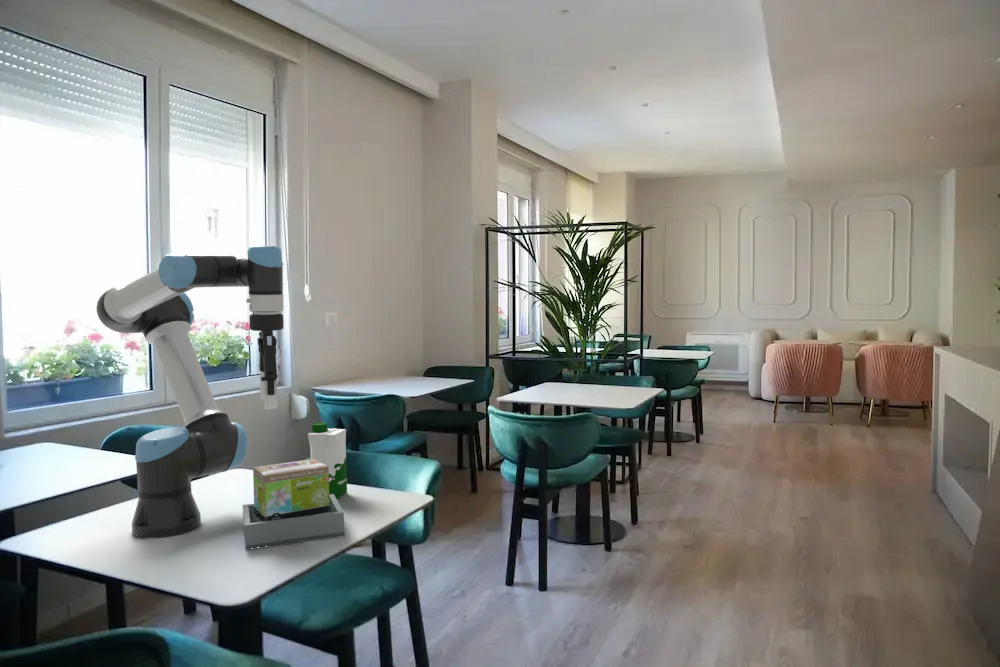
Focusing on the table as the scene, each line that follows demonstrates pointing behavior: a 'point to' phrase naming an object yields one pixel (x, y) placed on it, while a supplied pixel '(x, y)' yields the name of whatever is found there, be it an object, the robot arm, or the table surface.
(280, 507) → the tea box
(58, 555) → the table surface
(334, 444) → the milk carton
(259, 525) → the walled tray
